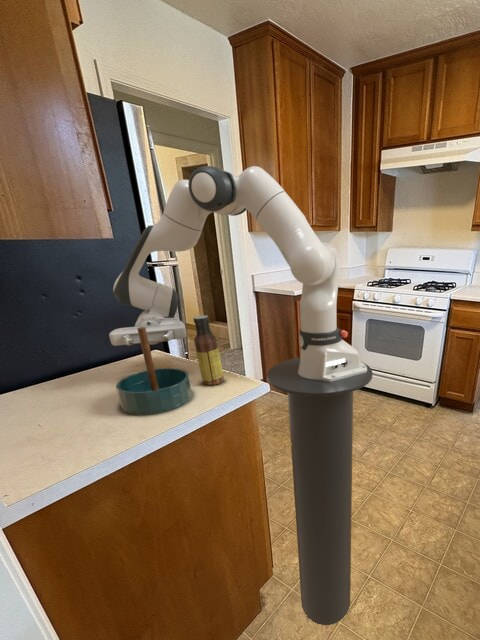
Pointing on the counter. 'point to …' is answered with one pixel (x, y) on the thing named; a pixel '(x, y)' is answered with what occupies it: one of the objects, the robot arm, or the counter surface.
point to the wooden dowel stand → (148, 358)
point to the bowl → (154, 392)
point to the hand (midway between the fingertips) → (148, 340)
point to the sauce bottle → (207, 352)
